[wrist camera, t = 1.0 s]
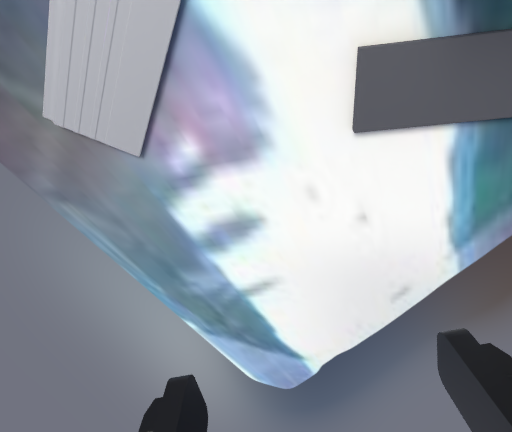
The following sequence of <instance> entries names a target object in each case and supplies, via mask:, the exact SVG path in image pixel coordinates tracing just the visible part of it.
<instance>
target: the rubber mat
mask: <svg viewBox="0 0 512 432" xmlns="http://www.w3.org/2000/svg"><path fill="white" fill-rule="evenodd" d="M509 117H512V29H506V30H497V31H489V32H480V33H472V34H464V35H455V36H447V37H438V38H430V39H421V40H413V41H405V42H396V43H388V44H379V45H371V46H363V47H358V54H357V69H356V84H355V99H354V114H353V131H354V132H355V133H356V132H367V131H377V130H387V129H397V128H407V127H417V126H428V125H438V124H448V123H458V122H468V121H479V120H489V119H499V118H509Z"/></svg>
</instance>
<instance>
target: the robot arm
mask: <svg viewBox="0 0 512 432" xmlns="http://www.w3.org/2000/svg"><path fill="white" fill-rule="evenodd" d="M437 352H438V353H437V355H438V371H439V375H440V378H441V380H442V383H443V385H444V387H445V389H446V390H447V392H448V393H449V395H450V397H451V398H452V400H453V402H454V403H455V405H456V407H457V408H458V410H459V411H460V413H461V415H462V416H463V418H464V419H465V421H466V423H467V424H468V426H469V428H470V429H471V431H472V432H512V358H511V356H510V355H508V354H506V353H505V352H503V351H502V350H500V349H499V348H497V347H495V346H493V345H492V344H491V343H487V344H482V345H480V344H479V343H478V342H477V341H476V339H475V338H474V337H473V336H472V335H471V334H470V332H469V331H468V330H466V329H464V328H462V329H456V330H451V331H444V332H439V333H438V335H437ZM207 426H208V413H207V406H206V403H205V401H204V398H203V396H202V394H201V391H200V389H199V387H198V384H197V382H196V380H195V377H194V376H193V375H186V376H181V377H175V378H170V379H169V380H168V382H167V385H166V389H165V392H164V395H163V397H161V398H156V399H155V400H154V401H153V402H152V404H151V406H150V407H149V408H148V410H147V411H146V413H145V414H144V417H143V420H142V423H141V426H140V429H139V432H207Z"/></svg>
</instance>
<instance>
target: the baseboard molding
mask: <svg viewBox="0 0 512 432" xmlns="http://www.w3.org/2000/svg"><path fill="white" fill-rule="evenodd" d="M180 3H181V0H50V5H49V21H48V37H47V54H46V70H45V87H44V103H43V117H45V118H47V119H50V120H52V121H53V122H54V124H55V125H58V126H60V127H64V128H67V129H69V130H72V131H74V132H76V133H80V134H82V135H85V136H87V137H89V138H91V139H94V140H98V141H100V142H103V143H105V144H107V145H109V146H112V147H114V148H117V149H120V150H122V151H125V152H127V153H130V154H133V155H135V156H138V157H139V156H140V155H141V151H142V147H143V143H144V139H145V136H146V132H147V128H148V124H149V120H150V117H151V113H152V109H153V105H154V101H155V98H156V94H157V90H158V86H159V83H160V79H161V75H162V71H163V67H164V64H165V60H166V56H167V52H168V48H169V45H170V41H171V37H172V33H173V29H174V26H175V22H176V18H177V14H178V10H179V7H180Z"/></svg>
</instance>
